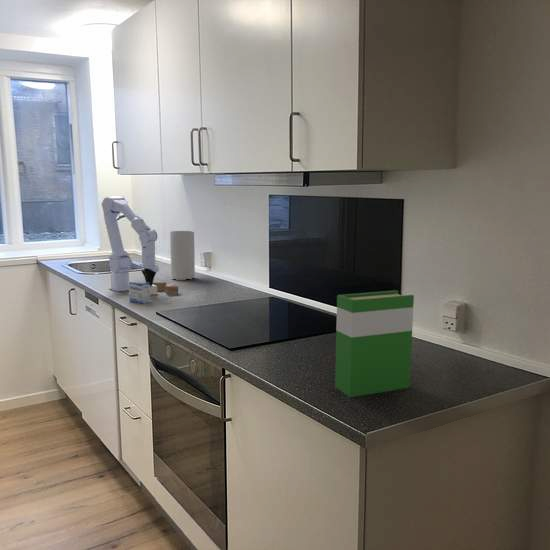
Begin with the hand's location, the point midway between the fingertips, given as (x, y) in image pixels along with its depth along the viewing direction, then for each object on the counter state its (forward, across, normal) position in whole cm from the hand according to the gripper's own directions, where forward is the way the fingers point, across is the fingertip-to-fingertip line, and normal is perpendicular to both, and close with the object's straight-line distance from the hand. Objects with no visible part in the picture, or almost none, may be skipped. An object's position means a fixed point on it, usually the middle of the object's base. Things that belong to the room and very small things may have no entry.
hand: (149, 285), depth 272 cm
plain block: (+4, 0, 0) cm, 4 cm away
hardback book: (+4, -148, +14) cm, 149 cm away
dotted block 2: (+4, -6, -8) cm, 11 cm away
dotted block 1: (+4, +6, -8) cm, 11 cm away
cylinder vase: (+4, +28, -34) cm, 44 cm away
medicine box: (+4, -14, +12) cm, 19 cm away
